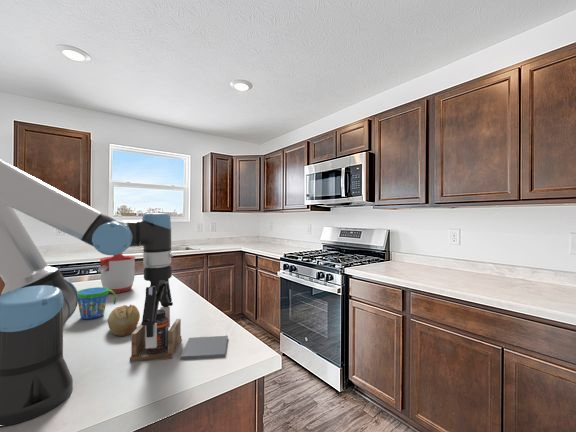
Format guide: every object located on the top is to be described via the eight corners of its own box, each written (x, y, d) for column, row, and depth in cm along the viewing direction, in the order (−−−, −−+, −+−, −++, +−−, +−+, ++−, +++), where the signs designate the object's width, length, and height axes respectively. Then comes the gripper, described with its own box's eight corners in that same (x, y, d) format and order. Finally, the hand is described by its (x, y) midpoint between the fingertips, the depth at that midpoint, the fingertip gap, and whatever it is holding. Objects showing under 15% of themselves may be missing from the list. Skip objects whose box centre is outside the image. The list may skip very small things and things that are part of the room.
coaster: (224, 356, 81) (224, 353, 81) (180, 359, 79) (180, 356, 79) (227, 338, 92) (227, 335, 92) (189, 340, 91) (189, 337, 91)
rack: (171, 358, 79) (171, 333, 79) (129, 361, 78) (129, 335, 78) (181, 339, 92) (181, 317, 91) (145, 340, 90) (145, 318, 90)
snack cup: (115, 309, 119) (115, 284, 119) (116, 316, 111) (116, 290, 110) (68, 316, 111) (68, 290, 111) (65, 325, 102) (65, 297, 102)
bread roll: (137, 319, 108) (137, 298, 108) (142, 334, 95) (142, 310, 95) (107, 325, 103) (107, 302, 103) (108, 340, 90) (108, 315, 90)
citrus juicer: (89, 293, 141) (89, 253, 141) (121, 285, 157) (121, 249, 157) (110, 297, 135) (110, 255, 135) (142, 288, 151) (142, 251, 151)
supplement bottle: (144, 355, 81) (144, 315, 81) (148, 346, 87) (148, 308, 87) (167, 352, 83) (167, 313, 82) (169, 343, 88) (169, 307, 88)
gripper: (158, 274, 73) (159, 356, 73) (180, 258, 97) (181, 319, 98) (126, 275, 71) (128, 359, 72) (157, 258, 96) (158, 321, 97)
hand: (158, 336), depth 85 cm, fingers open, 13 cm apart
